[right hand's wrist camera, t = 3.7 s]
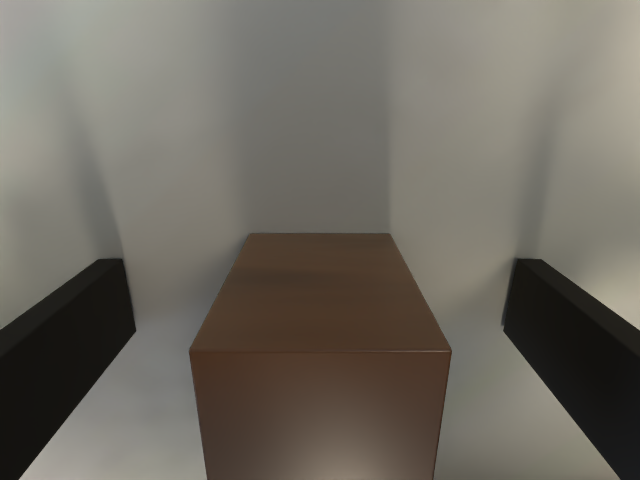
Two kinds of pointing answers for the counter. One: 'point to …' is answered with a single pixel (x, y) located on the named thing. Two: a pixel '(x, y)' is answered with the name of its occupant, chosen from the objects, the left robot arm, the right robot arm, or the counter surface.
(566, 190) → the counter surface
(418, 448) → the walnut block
